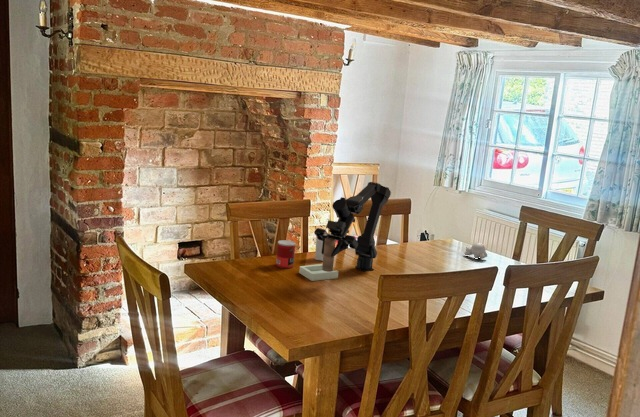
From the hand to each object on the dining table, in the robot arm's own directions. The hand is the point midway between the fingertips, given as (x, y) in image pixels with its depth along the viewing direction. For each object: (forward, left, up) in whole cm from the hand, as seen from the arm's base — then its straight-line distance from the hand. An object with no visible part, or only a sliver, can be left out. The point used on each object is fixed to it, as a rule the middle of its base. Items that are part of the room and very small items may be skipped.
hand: (327, 255), depth 235 cm
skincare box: (-19, -33, -14) cm, 40 cm away
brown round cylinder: (-1, -1, -7) cm, 7 cm away
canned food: (+3, -29, -14) cm, 32 cm away
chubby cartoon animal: (-100, -13, -14) cm, 102 cm away
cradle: (-5, -13, -13) cm, 19 cm away
